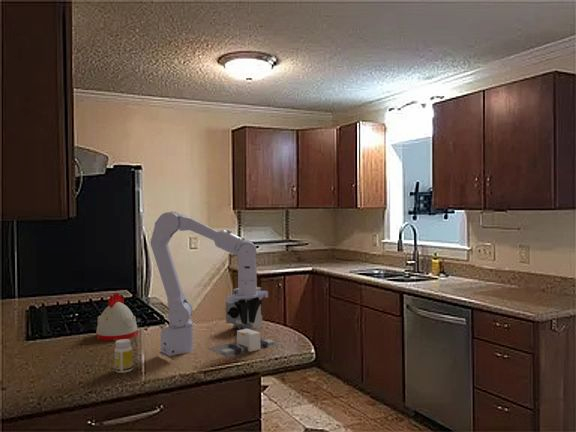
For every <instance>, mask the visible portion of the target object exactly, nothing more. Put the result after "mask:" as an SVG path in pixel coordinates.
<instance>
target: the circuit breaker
mask: <svg viewBox="0 0 576 432" xmlns="http://www.w3.org/2000/svg"><path fill="white" fill-rule="evenodd" d="M261 289H262V287H260V286H257V291H262V290H261ZM234 294H238V287H237V288H233V289H232V295H234ZM244 299H245V298H244ZM259 299H260V300H261V301H262V299H263V298H259ZM245 301H246V300H245ZM246 303H247V301H246ZM224 308H225V309H224V310H225V323H226V324H233V325H232V328H233V329H238V330H242V329H250V330H255V329H262V328H263V326H262V324H263V315H262V303H261V304H260V306H259V308H258V311H257V314H256V318H255V322H254V323H251V322H249V315H248V313H247V324H242V323H241V318H240V315H239V312H238V310H237V308H236V306H235V304H234V302H232V303H227V302H226V301H225V307H224Z"/></svg>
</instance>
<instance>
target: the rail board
mask: <svg viewBox="0 0 576 432" xmlns="http://www.w3.org/2000/svg"><path fill="white" fill-rule="evenodd" d="M279 345H281V344H280V343H277V342H275V341H274V340H272V339H266V338H262V337H260V350H262V349H267V348H270V347H272V348H273V347H275V346H276V347H277V346H279ZM206 349H207V350H210V351H212V352H215V353H216V354H220V355H222V356H224V357H227V358H229V357H233V356H237V355H242V354H246V353H250V352H249V351H248V347H246V346H243V345H241V346H237V341H233V342H229V343H224V344H220V345H215V346H211V347H207V348H206Z"/></svg>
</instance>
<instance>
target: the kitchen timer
mask: <svg viewBox="0 0 576 432" xmlns="http://www.w3.org/2000/svg"><path fill="white" fill-rule="evenodd" d="M122 296H123V295H120V293H119V292H116V293H113V295H109V299H107V303H108V306H106V307H105V308H104V310H103V311H102V313H101V315H99V316H98V317H97V326H96V334H95V335H96V336H97V337H96V339H97V338H98V339H97V340H99V339H102V340H101V341H106V340H114V341H117V340H121V339H131V338H135V337H136V336H138V332H139V331H138V325H137V322H136V320H137V319H136V316H135V315H134V314H133V312H132V311H131V309H130V308H129V307H128V306H127V305H126V304H124V301H125V298H124V297H122Z"/></svg>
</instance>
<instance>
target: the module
mask: <svg viewBox="0 0 576 432" xmlns="http://www.w3.org/2000/svg"><path fill="white" fill-rule="evenodd" d="M260 338H261V332H259V331H257V330H254V329H252V330H250V329H247V328H246V329H243V328H241V329H238V330H236V342H237V346H241V345H243V346H246V347H248V351H249V352H248V353H250V352H254V351H255V352H256V351H259V350H261V349H260Z"/></svg>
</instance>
